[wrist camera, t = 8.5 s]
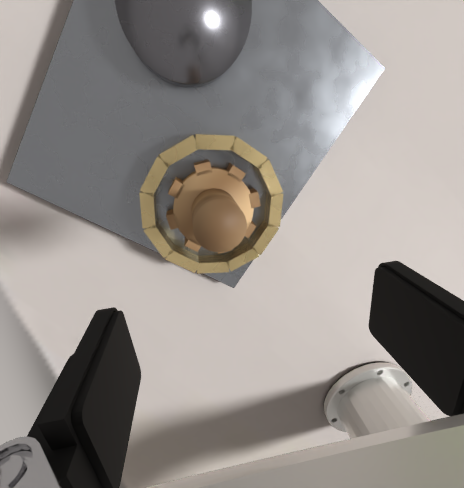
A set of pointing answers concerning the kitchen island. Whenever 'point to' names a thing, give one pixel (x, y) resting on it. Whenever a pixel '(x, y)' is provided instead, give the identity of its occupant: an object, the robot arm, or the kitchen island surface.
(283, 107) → the carrier plate
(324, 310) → the kitchen island surface
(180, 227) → the planet gear
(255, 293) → the kitchen island surface
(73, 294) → the kitchen island surface
